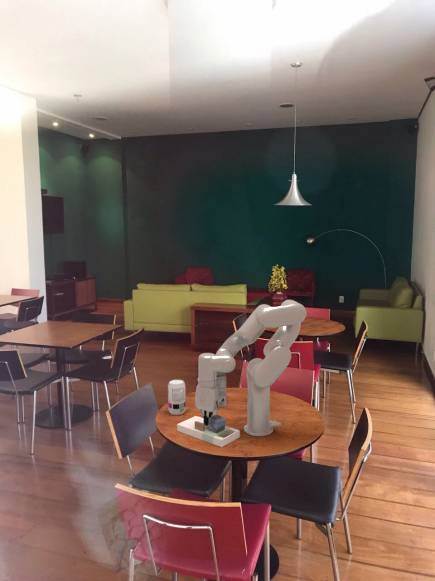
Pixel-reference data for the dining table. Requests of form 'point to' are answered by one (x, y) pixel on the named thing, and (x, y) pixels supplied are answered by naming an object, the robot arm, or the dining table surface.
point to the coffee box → (221, 387)
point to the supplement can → (176, 397)
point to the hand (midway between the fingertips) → (207, 424)
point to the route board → (207, 432)
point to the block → (216, 423)
